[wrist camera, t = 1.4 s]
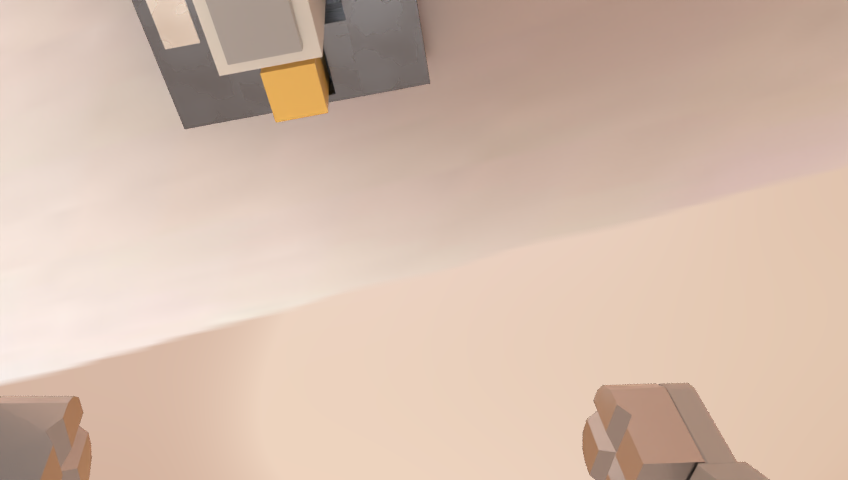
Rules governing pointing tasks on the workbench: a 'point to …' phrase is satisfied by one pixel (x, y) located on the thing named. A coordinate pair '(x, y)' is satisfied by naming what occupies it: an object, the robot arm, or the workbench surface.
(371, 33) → the panel
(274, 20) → the plug
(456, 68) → the workbench surface
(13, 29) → the workbench surface
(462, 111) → the workbench surface
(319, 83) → the plate
